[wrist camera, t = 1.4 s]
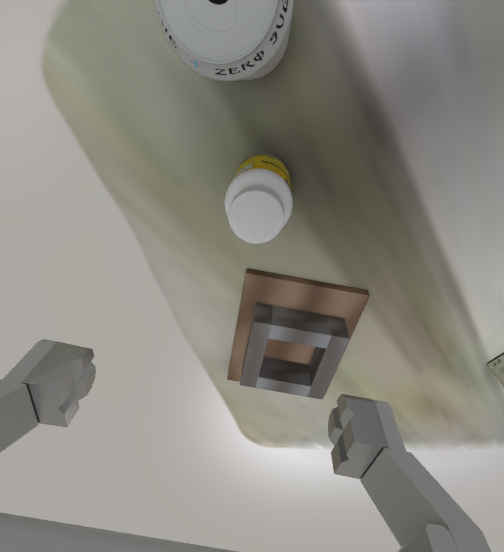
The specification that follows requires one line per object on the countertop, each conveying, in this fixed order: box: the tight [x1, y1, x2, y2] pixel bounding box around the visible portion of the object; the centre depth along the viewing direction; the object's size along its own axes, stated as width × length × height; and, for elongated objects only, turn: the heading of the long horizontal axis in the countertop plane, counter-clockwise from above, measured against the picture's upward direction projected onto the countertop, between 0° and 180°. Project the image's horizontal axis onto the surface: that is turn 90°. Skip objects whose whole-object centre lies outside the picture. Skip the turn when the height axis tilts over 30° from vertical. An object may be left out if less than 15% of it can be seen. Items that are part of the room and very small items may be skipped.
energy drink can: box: [154, 0, 294, 81], centre depth 18 cm, size 6×6×15 cm
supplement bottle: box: [225, 154, 293, 244], centre depth 26 cm, size 5×5×10 cm
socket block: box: [227, 269, 370, 399], centre depth 39 cm, size 14×18×4 cm
